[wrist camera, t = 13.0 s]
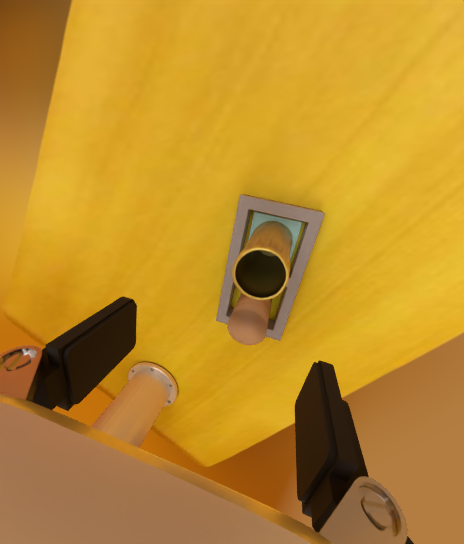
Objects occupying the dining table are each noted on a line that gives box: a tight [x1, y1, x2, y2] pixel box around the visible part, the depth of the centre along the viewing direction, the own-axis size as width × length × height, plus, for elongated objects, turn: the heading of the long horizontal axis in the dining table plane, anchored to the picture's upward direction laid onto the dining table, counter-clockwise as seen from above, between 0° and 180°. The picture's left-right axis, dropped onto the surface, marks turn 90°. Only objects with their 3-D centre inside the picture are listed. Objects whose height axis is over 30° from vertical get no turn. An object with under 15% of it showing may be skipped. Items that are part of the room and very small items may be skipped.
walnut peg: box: [228, 293, 272, 345], centre depth 32 cm, size 5×5×10 cm
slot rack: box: [216, 195, 325, 341], centre depth 33 cm, size 20×11×3 cm, turn 169°
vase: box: [232, 221, 293, 301], centre depth 26 cm, size 6×6×14 cm
